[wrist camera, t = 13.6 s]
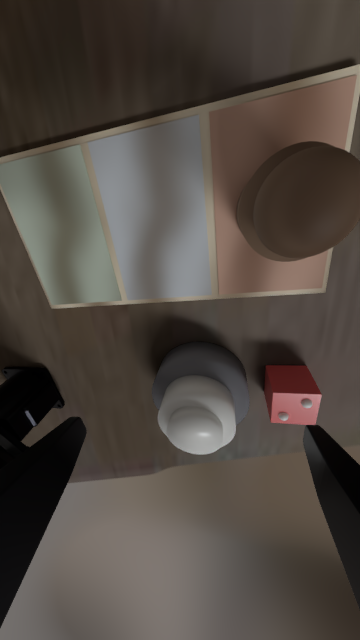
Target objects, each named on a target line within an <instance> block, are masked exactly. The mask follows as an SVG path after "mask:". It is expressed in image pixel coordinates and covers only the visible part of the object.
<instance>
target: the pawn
mask: <svg viewBox="0 0 360 640" xmlns="http://www.w3.org/2000/svg"><path fill="white" fill-rule="evenodd" d="M236 219H237V224H238V227H239V229H240V231H241V232H242V234H243V236H244V238H245V239H246V241H247V242H248V244H249V245H250V246H251V248H252V249H253V250H254V251H256V252H257V253H258V254H259V255H261V256H263V257H265V258H267V259H270V260H274V261H280V262H291V261H297V260H301V259H304V258H307V257H311V256H315V255H317V254H320V253H323V252H325V251H327V250H329V249H331V248H332V247H334V246H335V245H337V244H338V243H339V242H341V241H342V240H343V239H344V238H345V237H346V236H347V235H348V234H349V233H350V232H351V231H352V230H353V228H354V227H355V226H356V224H357V223H358V221H359V219H360V162H359V160H358V159H357V158H356V157H355V156H353V155H352V154H351V153H349V152H347V151H346V150H343V149H341V148H337V147H334V146H332V145H330V144H327V143H323V142H318V141H307V142H300V143H296V144H293V145H290V146H288V147H285V148H283V149H282V150H280V151H278V152H276V153H275V154H274V155H272V156H271V157H269V158H268V159H267V160H266V161H265V162H264V163H263V164H262V165H261V166H260V167H259V168H258V169H257V171H256V172H255V173H254V175H253V176H252V178H251V179H250V180H249V182H248V183H247V185H246V186H245V187H244V189H243V191H242V192H241V194H240V197H239V199H238V203H237V208H236Z"/></svg>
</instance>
